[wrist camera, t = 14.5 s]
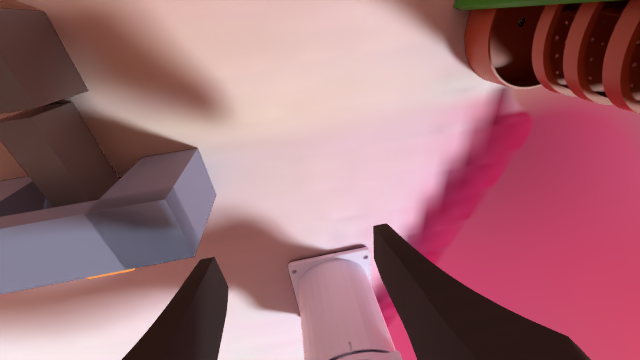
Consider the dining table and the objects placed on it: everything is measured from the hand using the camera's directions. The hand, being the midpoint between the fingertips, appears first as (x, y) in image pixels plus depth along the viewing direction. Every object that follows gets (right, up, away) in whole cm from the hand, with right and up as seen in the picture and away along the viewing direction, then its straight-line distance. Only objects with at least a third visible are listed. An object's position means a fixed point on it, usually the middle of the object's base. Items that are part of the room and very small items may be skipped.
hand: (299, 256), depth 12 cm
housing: (-14, +3, +7) cm, 16 cm away
